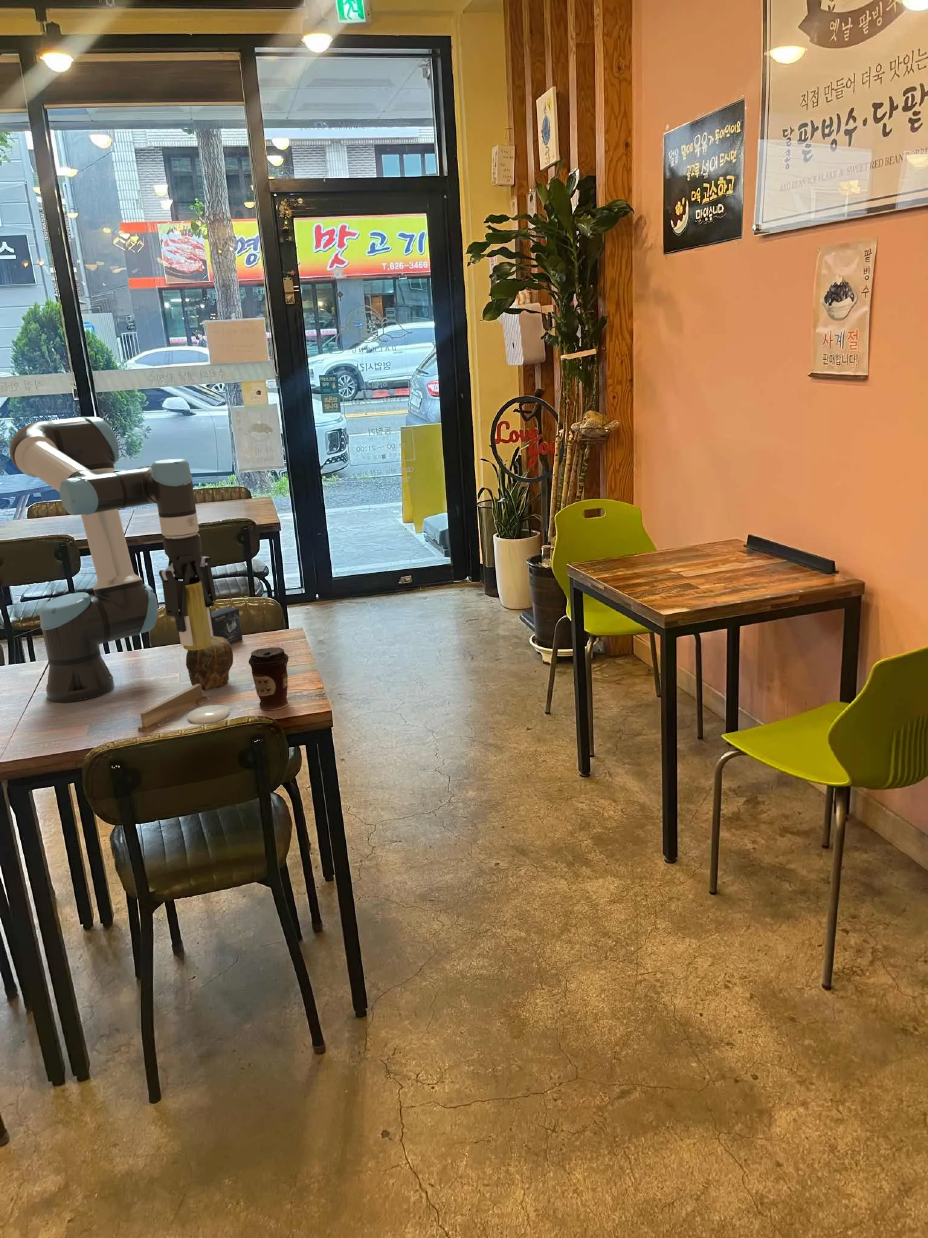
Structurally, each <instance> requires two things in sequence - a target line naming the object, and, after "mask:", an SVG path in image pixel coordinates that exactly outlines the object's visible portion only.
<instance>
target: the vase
mask: <svg viewBox="0 0 928 1238" xmlns="http://www.w3.org/2000/svg"><path fill="white" fill-rule="evenodd" d="M199 581H200V582H198V583H195V584H191V582H190V580H189V584H188V585H185V587H186V590H187V596H186V616H189V620H190V626H191V633H192V639H193V645H192V646H184V645H182V646H183V649H184V650H186V651H188V650H201V649H205V648H208V647H210V646H211V645H212V644H213V642H212V640H211V634H210V627H209V622H208V617H207V611H206V606H205V601H204V595H203V588H202V582H201V580H199Z"/></svg>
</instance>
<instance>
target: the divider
mask: <svg viewBox="0 0 928 1238" xmlns="http://www.w3.org/2000/svg"><path fill="white" fill-rule="evenodd" d="M207 701H209V697H208V696H205V695H204V693H203V691H202V686H201V684H196V685H194V686H192V685H191V686H190V687H188V688H186V689H184V690H182V691H179V693H176V694H175V695H173V696H170V697H169V698H166V699H165V700H162V701H161V702H159V703H157V704H155V705H153V706H151V707H148V708H147V709H145V710H143V711H141V712H139V714H140V719H141V725H140V726H137V731H138V732H144V733H150V732H152V731H154V730H156V729H157V728H160V725H161V724H162V723H165V722H167V721H168V720H170V719H172V718H174V717H176V716H179V714H182V713H183V712H184V711H187V710H189V709H191V708H192V707H194V706H196V705H199V706H200V705H203V703H205V702H207Z"/></svg>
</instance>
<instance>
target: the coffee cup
mask: <svg viewBox="0 0 928 1238" xmlns="http://www.w3.org/2000/svg"><path fill="white" fill-rule="evenodd" d="M248 659H249V660H248V664H249V666H250V668H251V675H252V679H253V683H254V687H255V690H256V691H255V692H256V695H257V696H258V698H259V704H258V705H259V708H260V709H262V710H266V711H267V710H268V711H276V710H281V709H284V708H287V707H288V706H289V700H288V698H287V697H288V688H289V685H288V684H289V683H288V682H289V680H288V669H287V668H288V667H287V666H288V662H289V659H290V657H289V655H288V654H287V653H285V649H284V648H282V647H278V646H277V647H272V646H271V647H266V648H257V649H255V650H253V651H252V652H251V653H250V657H249V658H248Z"/></svg>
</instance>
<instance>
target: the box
mask: <svg viewBox="0 0 928 1238" xmlns="http://www.w3.org/2000/svg"><path fill="white" fill-rule="evenodd" d="M211 615H212V620H211V624H212V631H213V636H216V637H223V638H225V639H226V640H228V641H229V643H230V645H231V646H232V645H233V644H237V643H239V642H241V641H243V632H242V625H241V618H240V608H238V607H231V606H224V607H221V608H219V609H216V610H213V611H211ZM213 636H212V637H213ZM212 637H211V638H212Z"/></svg>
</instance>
